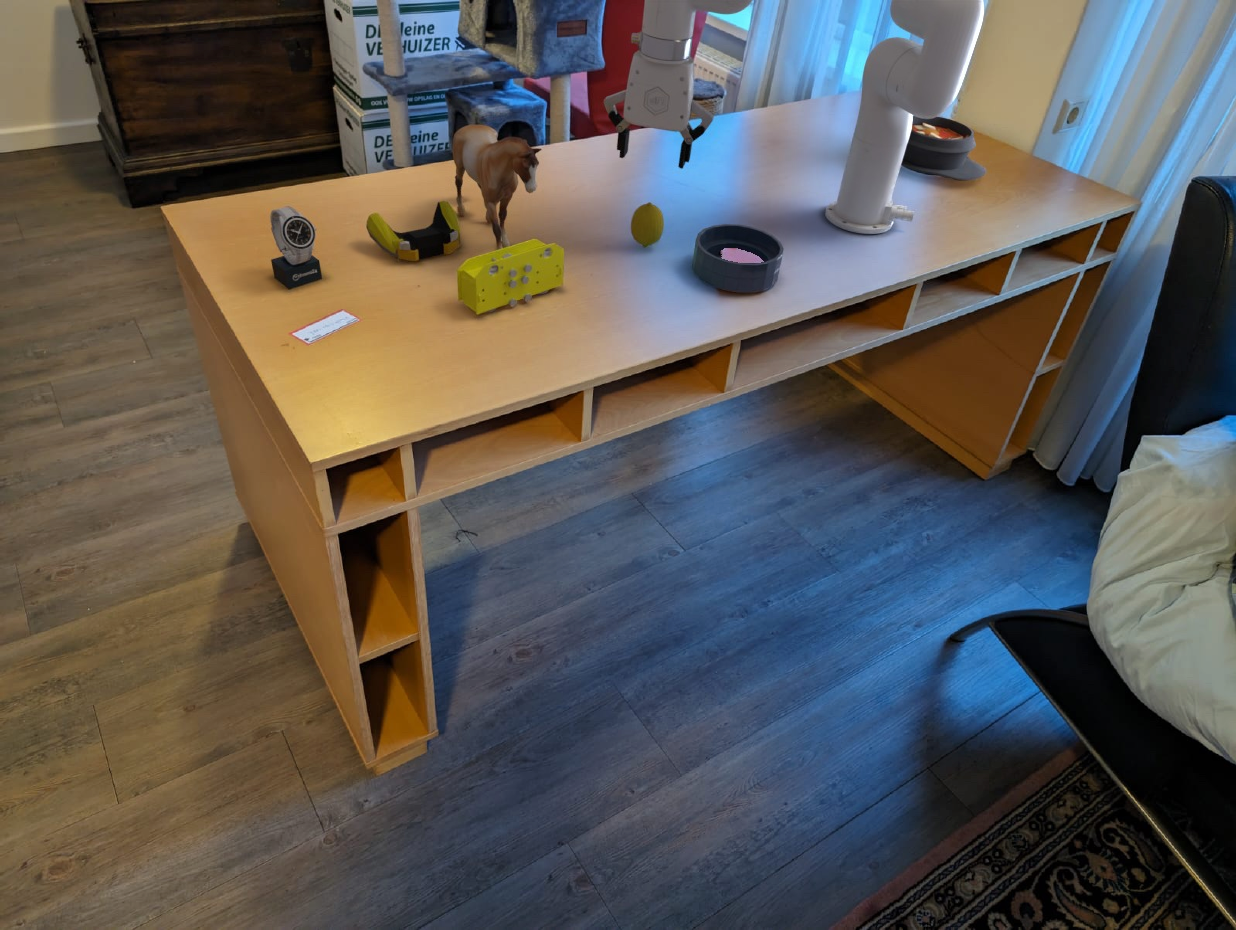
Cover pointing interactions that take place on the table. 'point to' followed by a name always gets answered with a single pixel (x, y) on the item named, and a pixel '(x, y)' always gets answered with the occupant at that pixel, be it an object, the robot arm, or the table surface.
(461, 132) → the horse figurine
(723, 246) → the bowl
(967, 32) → the robot arm
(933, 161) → the casserole
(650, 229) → the lemon
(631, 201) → the table surface
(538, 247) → the yellow toy chassis
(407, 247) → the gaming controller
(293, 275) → the watch
